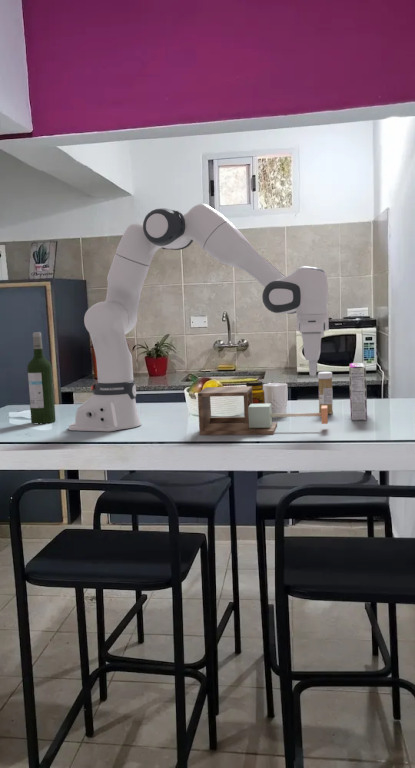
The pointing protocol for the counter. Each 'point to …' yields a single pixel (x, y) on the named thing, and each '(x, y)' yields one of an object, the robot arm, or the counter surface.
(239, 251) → the robot arm
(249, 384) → the condiment
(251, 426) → the mallet
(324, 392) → the sprinkles bottle
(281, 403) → the white cup
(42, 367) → the wine bottle
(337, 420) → the counter surface
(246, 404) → the shelf
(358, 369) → the candy bar box
